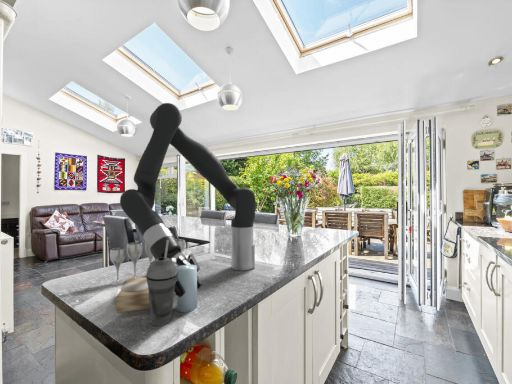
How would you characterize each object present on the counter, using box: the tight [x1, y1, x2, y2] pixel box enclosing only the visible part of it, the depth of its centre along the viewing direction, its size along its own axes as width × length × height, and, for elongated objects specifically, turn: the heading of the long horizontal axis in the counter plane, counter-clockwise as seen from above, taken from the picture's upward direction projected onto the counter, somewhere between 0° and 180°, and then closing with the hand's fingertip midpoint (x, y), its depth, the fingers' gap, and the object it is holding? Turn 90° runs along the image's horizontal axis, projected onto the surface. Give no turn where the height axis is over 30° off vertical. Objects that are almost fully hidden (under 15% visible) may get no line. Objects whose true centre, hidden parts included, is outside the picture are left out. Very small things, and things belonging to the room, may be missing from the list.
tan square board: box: [115, 276, 150, 313], centre depth 75 cm, size 12×14×4 cm
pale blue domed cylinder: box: [176, 265, 198, 313], centre depth 69 cm, size 5×5×11 cm
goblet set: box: [109, 238, 187, 286], centre depth 97 cm, size 28×6×13 cm, turn 132°
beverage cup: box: [145, 240, 178, 327], centre depth 61 cm, size 7×7×20 cm
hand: (191, 290), depth 68 cm, fingers open, 5 cm apart
